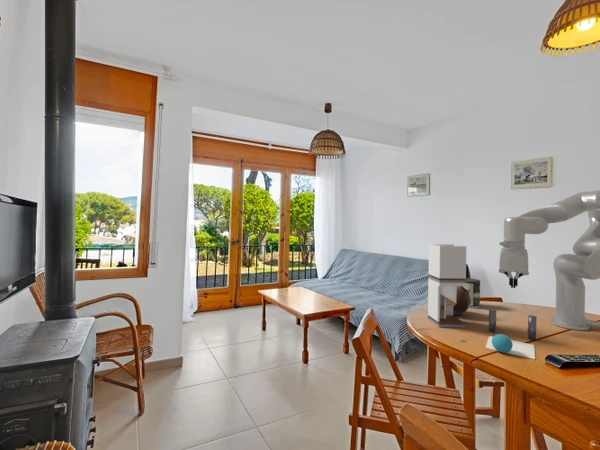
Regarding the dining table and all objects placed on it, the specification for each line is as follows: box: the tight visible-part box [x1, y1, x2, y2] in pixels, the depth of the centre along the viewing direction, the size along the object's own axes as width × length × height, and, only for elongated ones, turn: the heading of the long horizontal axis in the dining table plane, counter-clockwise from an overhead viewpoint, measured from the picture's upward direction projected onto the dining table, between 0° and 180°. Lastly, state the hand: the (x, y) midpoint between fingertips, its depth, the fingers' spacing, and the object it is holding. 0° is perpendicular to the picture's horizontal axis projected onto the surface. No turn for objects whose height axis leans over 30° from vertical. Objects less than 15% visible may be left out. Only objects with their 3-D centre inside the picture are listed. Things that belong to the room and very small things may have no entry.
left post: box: [488, 308, 497, 333], centre depth 123 cm, size 2×2×9 cm
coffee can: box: [462, 277, 481, 309], centre depth 161 cm, size 10×10×14 cm
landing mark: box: [485, 335, 536, 360], centre depth 108 cm, size 14×14×1 cm
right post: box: [527, 314, 538, 341], centre depth 115 cm, size 2×2×9 cm
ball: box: [492, 333, 513, 353], centre depth 103 cm, size 6×6×6 cm
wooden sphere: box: [453, 286, 471, 316], centre depth 146 cm, size 15×15×15 cm
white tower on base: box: [427, 243, 467, 328], centre depth 132 cm, size 11×11×35 cm
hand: (513, 287), depth 129 cm, fingers closed
